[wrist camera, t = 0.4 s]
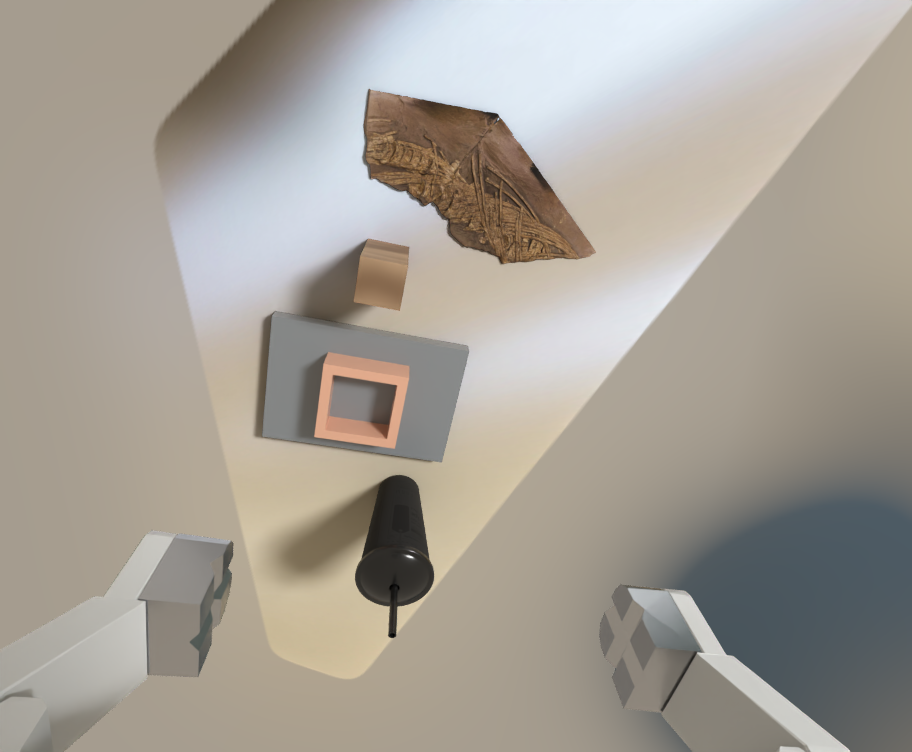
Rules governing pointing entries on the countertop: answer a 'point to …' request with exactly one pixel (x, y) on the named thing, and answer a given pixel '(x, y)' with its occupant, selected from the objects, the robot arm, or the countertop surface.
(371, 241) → the brown wooden block
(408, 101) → the wooden fragment
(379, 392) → the stand
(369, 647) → the countertop surface
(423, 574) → the drinking cup
